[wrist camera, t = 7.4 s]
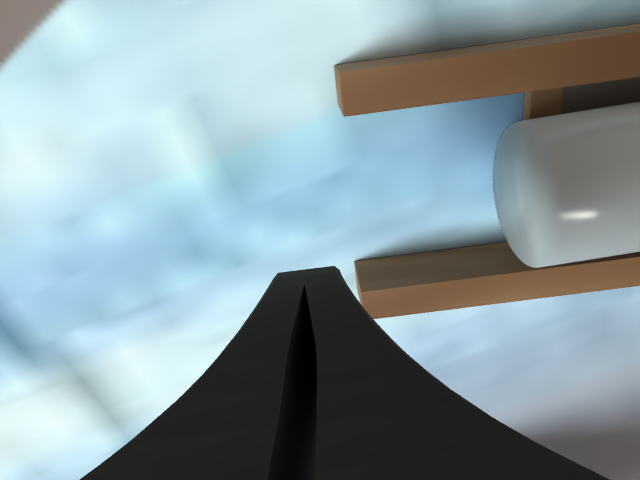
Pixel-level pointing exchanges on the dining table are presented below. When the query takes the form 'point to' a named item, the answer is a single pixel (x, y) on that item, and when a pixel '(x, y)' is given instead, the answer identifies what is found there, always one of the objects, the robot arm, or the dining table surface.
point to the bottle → (570, 185)
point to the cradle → (540, 101)
